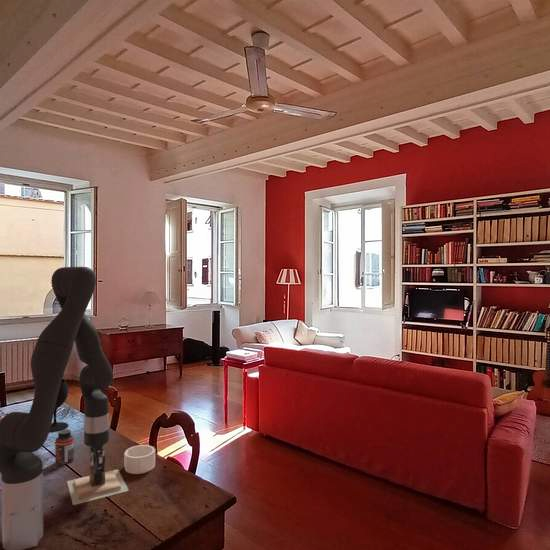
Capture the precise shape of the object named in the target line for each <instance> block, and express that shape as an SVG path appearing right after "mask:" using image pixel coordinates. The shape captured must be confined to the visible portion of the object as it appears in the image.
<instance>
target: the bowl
mask: <svg viewBox="0 0 550 550" xmlns="http://www.w3.org/2000/svg"><path fill="white" fill-rule="evenodd" d="M123 456H124V459H123V460H124V465H123V466H124V470H125V472H126V473H128V474H132V475H140V474H145V473H148V472H150V471H152V470H154V469H155V466H156V448H155V447H154V446H152V445H148V444H139V445H134V446H131V447H129V448H127V449H126V450H125V451H124V455H123Z"/></svg>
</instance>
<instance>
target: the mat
mask: <svg viewBox="0 0 550 550" xmlns="http://www.w3.org/2000/svg"><path fill="white" fill-rule="evenodd" d="M113 471H114V473H115V475H116V477H117V479H118V481H119V483H120V485H121V489H120V490H116V491H112V492H109V493H105V494H101V495H97V496H93V497H89V498H85V499H81V500H79V496H78V493H77V490H76V486H75V483H74V479H71V480H66V483H67V487H68V491H69V494H70V498H71V502H72V505H73V506H77V505H80V504H83V503H86V502H90V501H91V502H92V501H95V500H99V499H103V498H107V497H110V496H114V495H117V494H122V493H125V492H129V491H130V490H129V488H128V486H127V484H126V482H125V480H124V478H123V476H122V474H121V473H120V470H119V469H114V470H113Z"/></svg>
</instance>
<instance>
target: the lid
mask: <svg viewBox="0 0 550 550" xmlns="http://www.w3.org/2000/svg"><path fill="white" fill-rule="evenodd" d="M98 469H100V468H98ZM73 480H74V483H75V486H76V490H77V493H78V496H79V500H81V499H85V498H89V497H93V496H97V495H101V494H105V493H109V492H112V491H116V490H120V489H121V485H120V483H119V481H118V479H117V477H116V475H115V473H114V471H113V470H109V471H106V468H105V467H104V472H103V473H102V484H98V485H95V473H94V466H92V465H90V466H89V475H87V476H83V477H82V476H81V477H79V478H74V479H73Z"/></svg>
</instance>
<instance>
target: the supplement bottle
mask: <svg viewBox="0 0 550 550" xmlns="http://www.w3.org/2000/svg"><path fill="white" fill-rule="evenodd" d="M57 432H58V434H57V435H58V436H57V437H56V438H55V445H54V447H55V452H54V453H55V465H57V466H63V465H69V464H72V463H73V461H74V460H75V459H74V458H75V453H74V452H75V446H74V445H75V440H74V436H73V435H72V433H71V432H72V431H71V429H67V428H66V429H64V430H61V431H57Z"/></svg>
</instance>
